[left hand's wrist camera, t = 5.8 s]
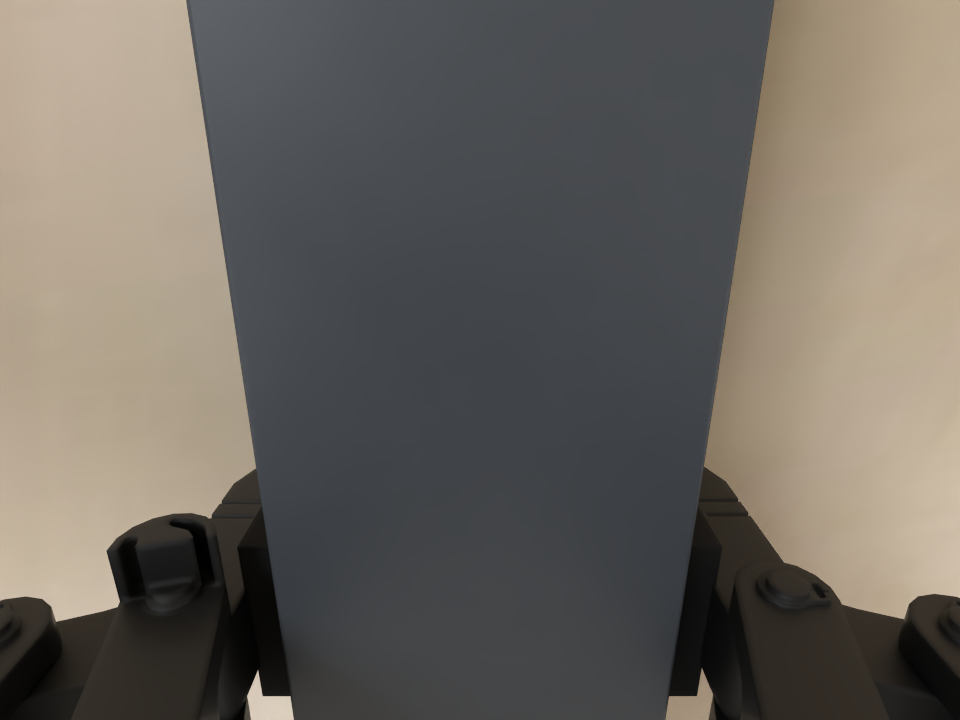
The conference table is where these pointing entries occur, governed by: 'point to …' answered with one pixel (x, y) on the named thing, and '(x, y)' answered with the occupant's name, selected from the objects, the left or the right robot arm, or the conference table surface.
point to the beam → (480, 332)
